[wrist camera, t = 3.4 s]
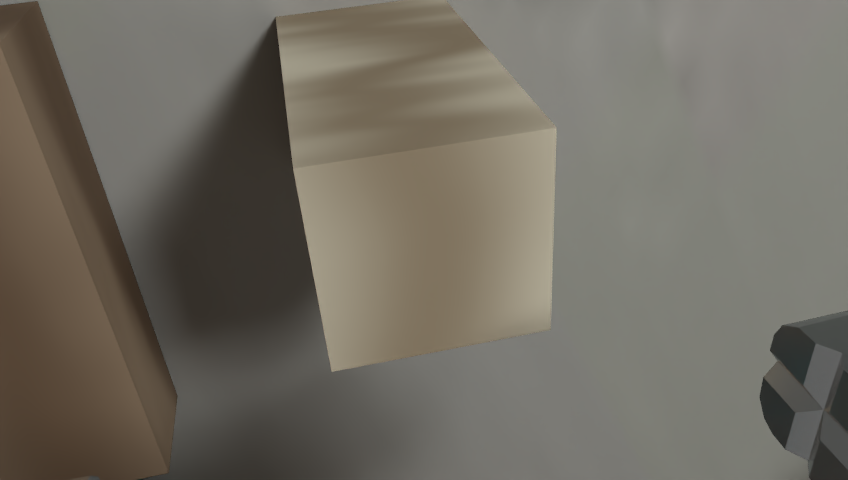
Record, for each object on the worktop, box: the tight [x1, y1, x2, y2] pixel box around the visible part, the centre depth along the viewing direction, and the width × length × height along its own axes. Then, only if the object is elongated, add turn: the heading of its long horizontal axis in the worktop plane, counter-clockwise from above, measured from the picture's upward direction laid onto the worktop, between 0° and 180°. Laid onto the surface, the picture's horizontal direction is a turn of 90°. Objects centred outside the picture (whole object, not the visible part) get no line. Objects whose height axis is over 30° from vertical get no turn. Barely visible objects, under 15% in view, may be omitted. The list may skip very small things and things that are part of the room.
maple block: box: [276, 0, 557, 372], centre depth 15 cm, size 4×4×8 cm
